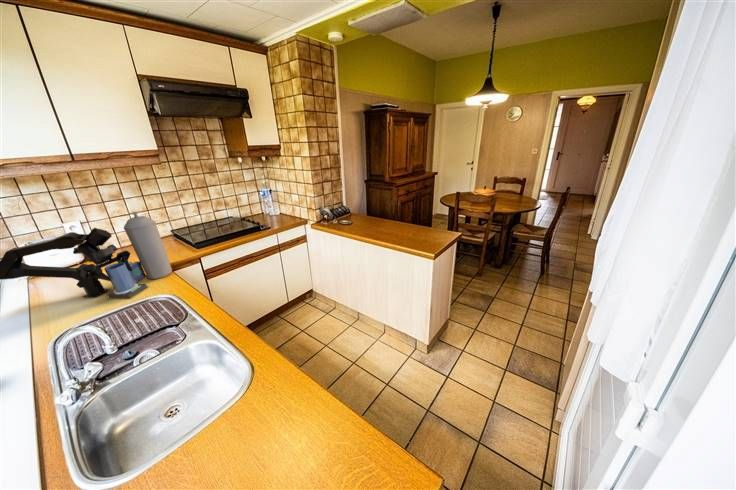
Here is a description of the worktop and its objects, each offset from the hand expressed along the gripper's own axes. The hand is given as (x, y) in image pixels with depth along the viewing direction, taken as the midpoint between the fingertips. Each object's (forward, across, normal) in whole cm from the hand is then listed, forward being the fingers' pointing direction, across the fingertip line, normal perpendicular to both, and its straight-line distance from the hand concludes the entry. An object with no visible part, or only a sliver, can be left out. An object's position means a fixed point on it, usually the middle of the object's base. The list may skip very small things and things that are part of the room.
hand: (121, 275), depth 124 cm
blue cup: (+4, 0, +6) cm, 7 cm away
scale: (+6, 0, +7) cm, 10 cm away
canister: (+6, +17, +8) cm, 20 cm away
